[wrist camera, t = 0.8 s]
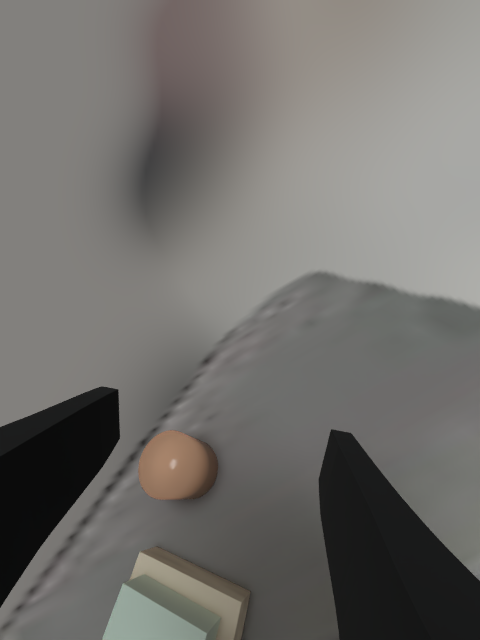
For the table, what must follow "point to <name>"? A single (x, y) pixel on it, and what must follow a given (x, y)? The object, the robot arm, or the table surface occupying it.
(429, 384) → the table surface
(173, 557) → the tower base
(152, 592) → the tower top
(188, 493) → the terracotta cylinder
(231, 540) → the table surface
